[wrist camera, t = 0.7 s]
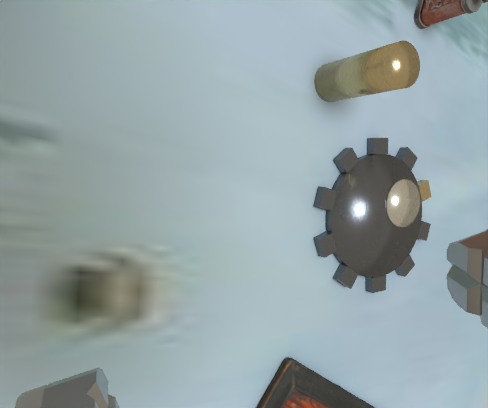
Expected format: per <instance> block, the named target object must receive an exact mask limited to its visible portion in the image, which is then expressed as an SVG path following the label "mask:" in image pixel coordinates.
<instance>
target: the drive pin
mask: <svg viewBox="0 0 488 408" xmlns="http://www.w3.org/2000/svg"><path fill="white" fill-rule="evenodd" d="M419 70H420V61H419V56H418V53H417V51H416V49H415V48H414V46H413V45H412V44H411V43H409V42H407V41H399V42H396V43H393V44H390V45H386V46H383V47H380V48H377V49H373V50H370V51H367V52H364V53H360V54H357V55H354V56H351V57H347V58H344V59H341V60H338V61H335V62H331V63H328V64H325V65H323V66H321V67H320V68H319V69H318V71H317V73H316V75H315V88H316V91H317V93H318V95H319V96H320V98H321V99H323V100H324V101H327V102H333V101H339V100H344V99H349V98H355V97H360V96H365V95H371V94H376V93H381V92H387V91H392V90H397V89H403V88H408V87H410V86H412V85H413V84H414V83H415V81H416V80H417V78H418V75H419Z"/></svg>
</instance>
